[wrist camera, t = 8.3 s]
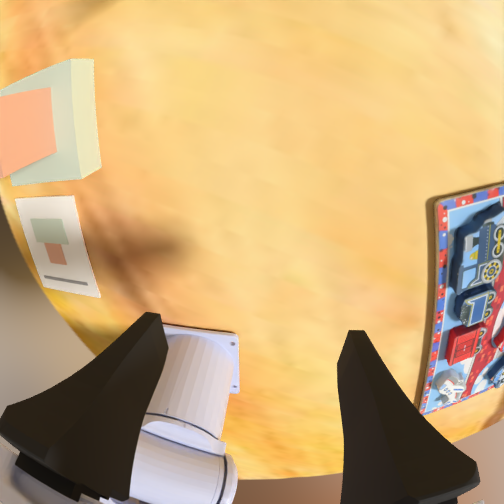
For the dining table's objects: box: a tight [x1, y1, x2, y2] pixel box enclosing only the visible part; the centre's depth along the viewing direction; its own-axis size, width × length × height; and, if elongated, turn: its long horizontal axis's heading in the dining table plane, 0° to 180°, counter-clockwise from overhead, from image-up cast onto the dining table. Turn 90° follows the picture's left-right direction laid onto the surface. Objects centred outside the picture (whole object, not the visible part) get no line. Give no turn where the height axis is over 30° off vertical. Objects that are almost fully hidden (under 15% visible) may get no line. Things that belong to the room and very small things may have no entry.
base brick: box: [0, 59, 102, 186], centre depth 16 cm, size 8×8×3 cm
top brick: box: [0, 87, 57, 178], centre depth 12 cm, size 4×4×5 cm
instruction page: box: [15, 195, 101, 298], centre depth 22 cm, size 10×8×1 cm
